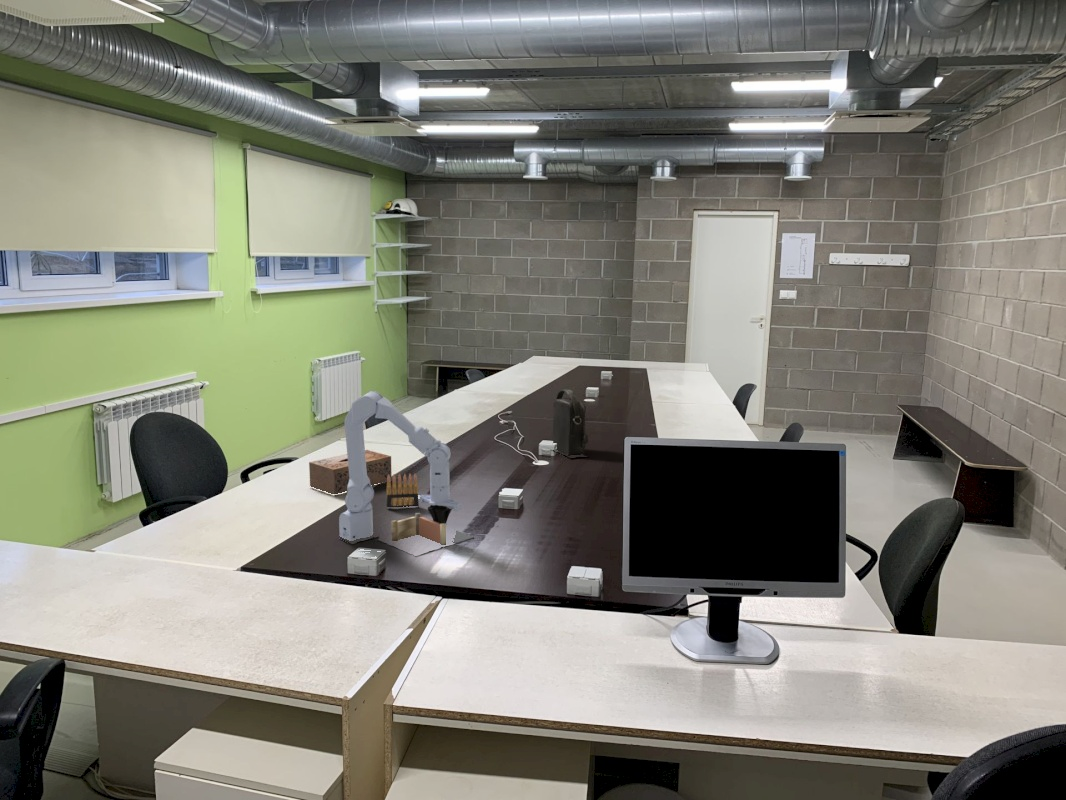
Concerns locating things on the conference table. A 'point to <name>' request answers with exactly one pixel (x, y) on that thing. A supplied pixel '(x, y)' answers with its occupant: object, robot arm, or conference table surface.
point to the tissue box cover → (347, 471)
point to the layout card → (461, 537)
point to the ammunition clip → (408, 495)
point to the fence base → (405, 527)
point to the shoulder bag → (569, 424)
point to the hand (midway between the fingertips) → (440, 529)
